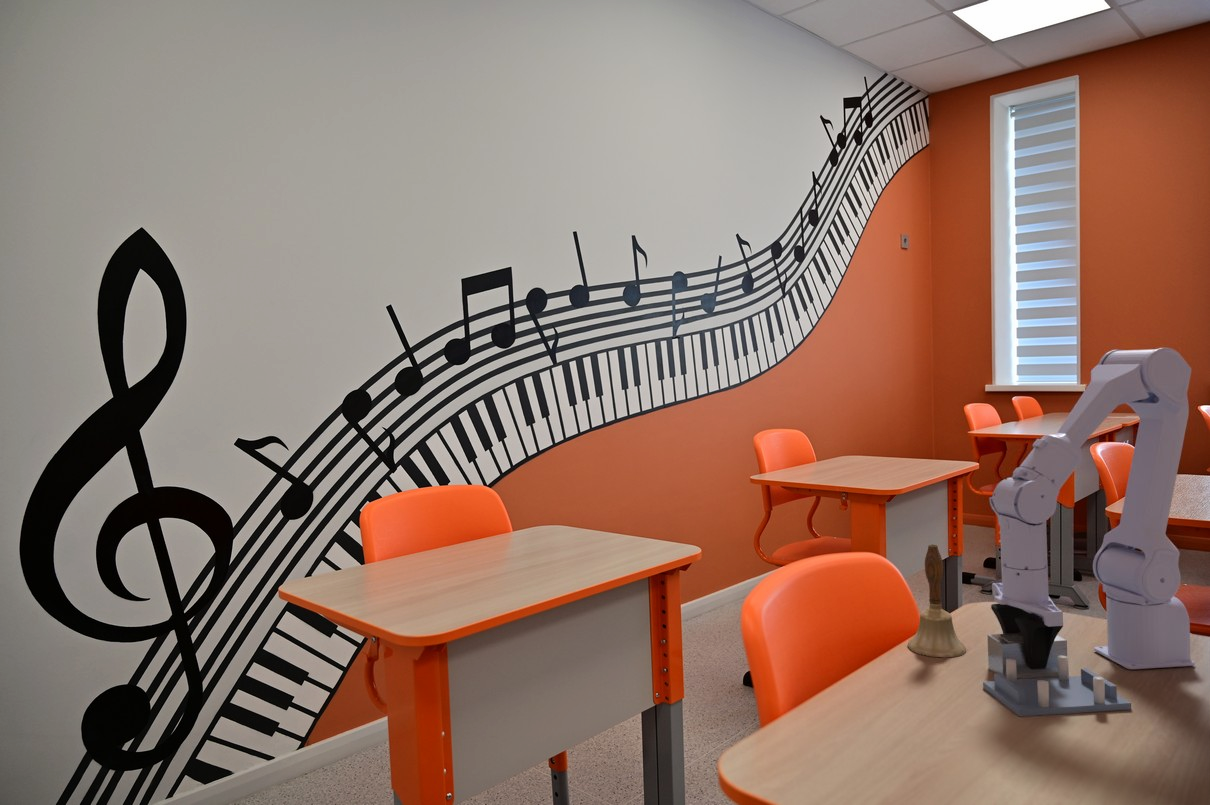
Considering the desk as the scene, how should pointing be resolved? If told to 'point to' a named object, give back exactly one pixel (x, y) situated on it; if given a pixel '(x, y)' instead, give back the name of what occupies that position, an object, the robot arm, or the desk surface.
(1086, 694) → the grey peg stand
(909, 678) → the desk surface
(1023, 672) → the block
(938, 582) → the hand bell
